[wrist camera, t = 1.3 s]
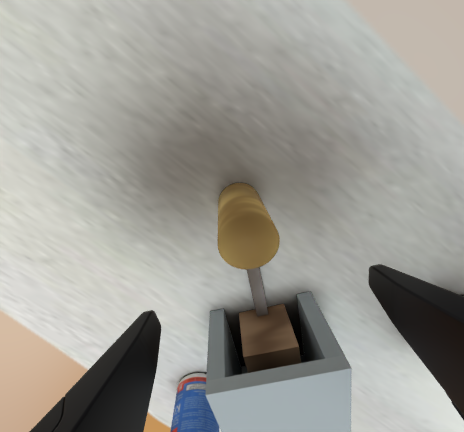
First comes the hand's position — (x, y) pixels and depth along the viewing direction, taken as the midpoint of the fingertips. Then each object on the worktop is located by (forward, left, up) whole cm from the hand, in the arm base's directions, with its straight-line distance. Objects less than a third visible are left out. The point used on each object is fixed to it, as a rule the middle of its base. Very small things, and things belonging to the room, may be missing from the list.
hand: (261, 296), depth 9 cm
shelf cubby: (0, +16, -11) cm, 20 cm away
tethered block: (0, +8, -11) cm, 14 cm away
